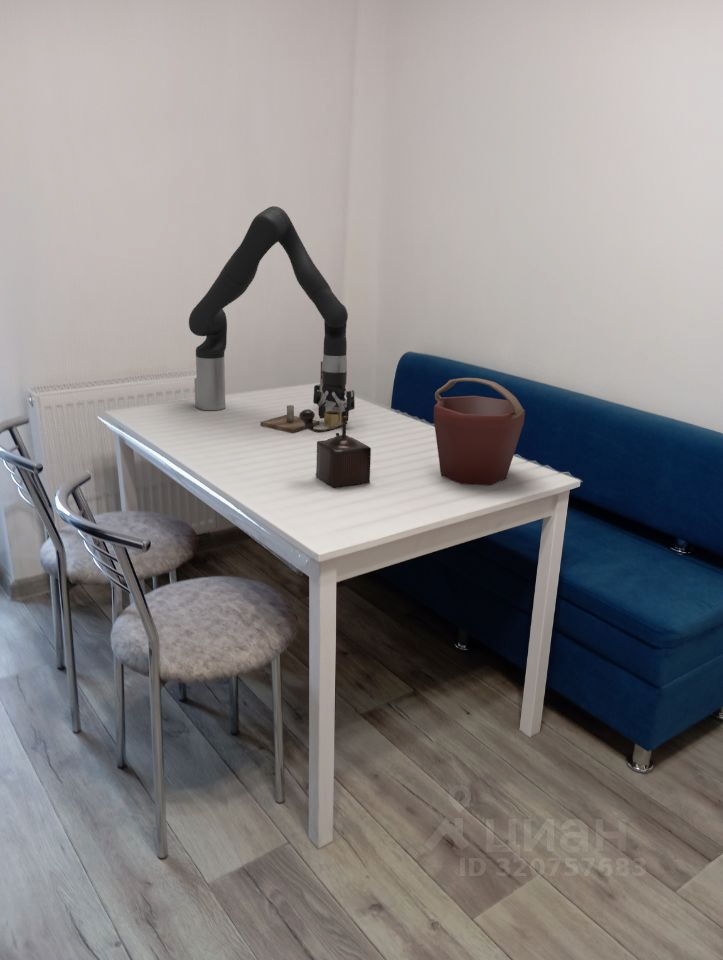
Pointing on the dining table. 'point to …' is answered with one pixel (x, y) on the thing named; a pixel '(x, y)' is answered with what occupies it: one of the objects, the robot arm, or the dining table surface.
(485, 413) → the bucket
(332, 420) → the gold octagonal ring
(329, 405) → the coffee box
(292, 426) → the post stand
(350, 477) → the manual coffee grinder
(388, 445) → the dining table surface
